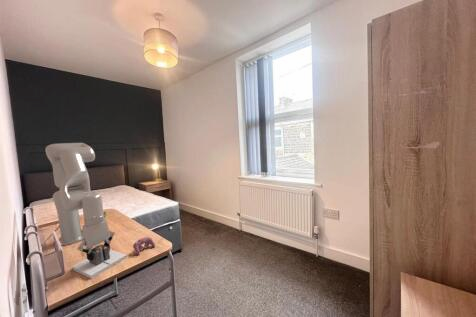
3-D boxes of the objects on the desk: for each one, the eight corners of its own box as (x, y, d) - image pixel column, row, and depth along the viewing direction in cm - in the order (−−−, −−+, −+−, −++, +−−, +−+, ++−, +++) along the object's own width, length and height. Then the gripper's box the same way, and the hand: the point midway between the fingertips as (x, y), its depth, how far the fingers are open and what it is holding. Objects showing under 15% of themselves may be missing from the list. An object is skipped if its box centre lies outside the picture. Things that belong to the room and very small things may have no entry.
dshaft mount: (72, 269, 92) (69, 252, 91) (107, 251, 106) (105, 235, 105) (91, 278, 84) (88, 260, 83) (126, 257, 99) (124, 241, 98)
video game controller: (152, 247, 110) (148, 235, 111) (156, 246, 107) (152, 233, 108) (134, 256, 102) (130, 243, 103) (138, 255, 99) (133, 241, 101)
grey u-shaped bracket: (89, 262, 94) (87, 250, 93) (102, 255, 99) (101, 243, 98) (96, 265, 91) (95, 253, 90) (110, 258, 96) (108, 246, 96)
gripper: (108, 212, 102) (112, 244, 104) (68, 226, 87) (73, 264, 89) (117, 214, 99) (121, 247, 101) (77, 229, 83) (82, 268, 85)
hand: (99, 255), depth 95 cm, fingers open, 6 cm apart
